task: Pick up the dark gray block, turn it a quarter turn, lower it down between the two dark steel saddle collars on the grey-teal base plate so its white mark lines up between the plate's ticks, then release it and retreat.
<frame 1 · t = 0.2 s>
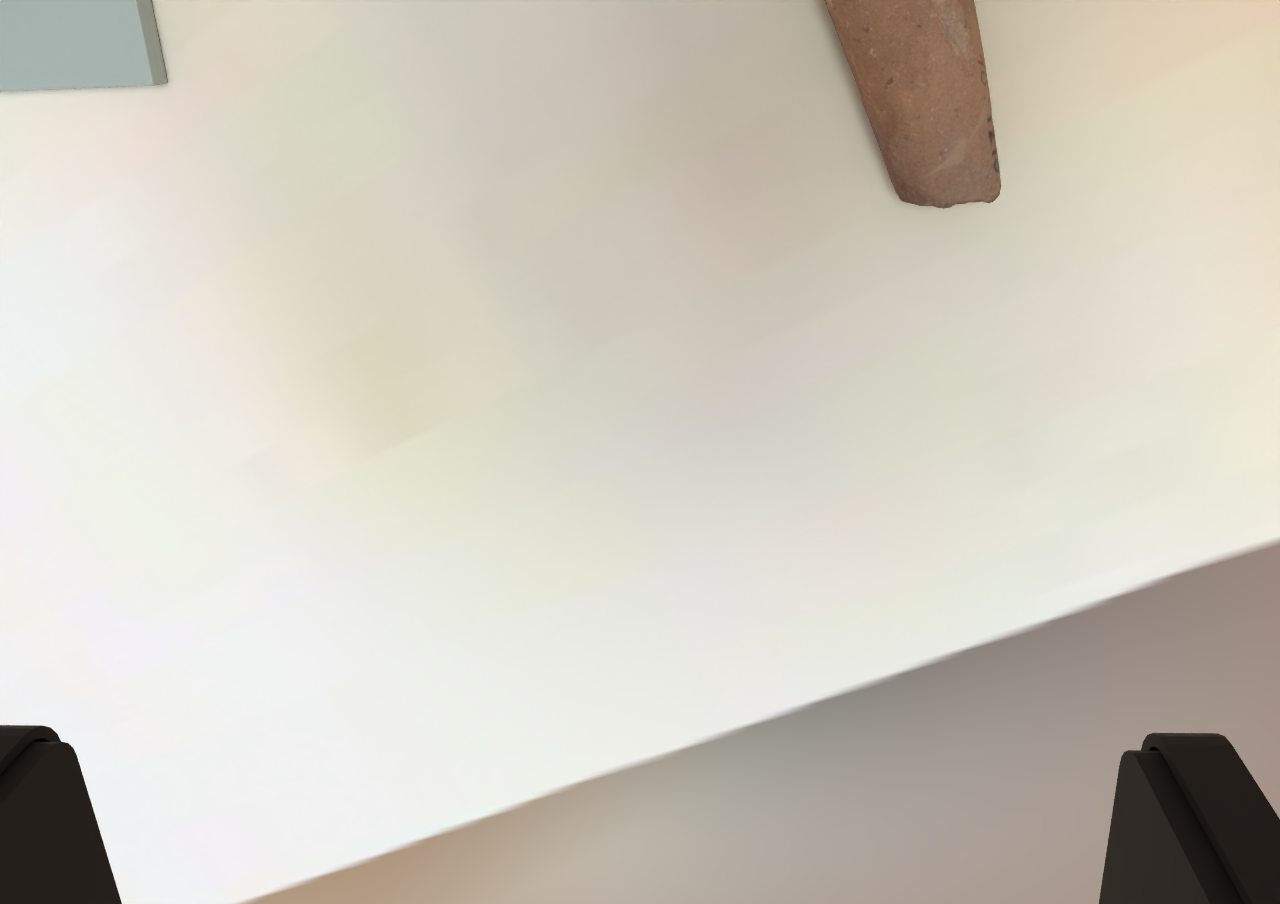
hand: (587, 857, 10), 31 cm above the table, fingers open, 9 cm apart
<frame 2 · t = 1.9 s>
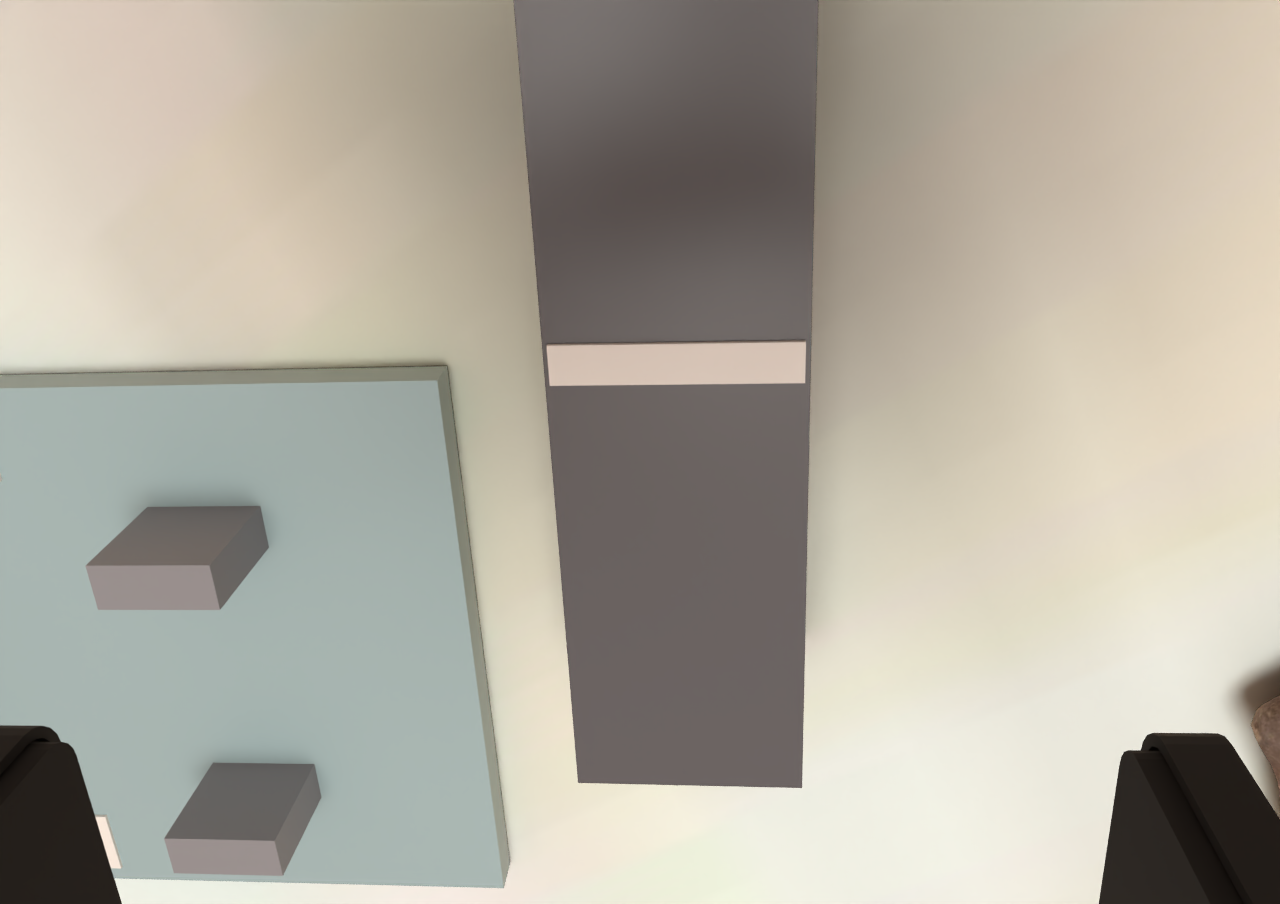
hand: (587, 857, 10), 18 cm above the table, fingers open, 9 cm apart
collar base: (67, 639, 32), on the table
dark gray block: (689, 276, 26), on the table
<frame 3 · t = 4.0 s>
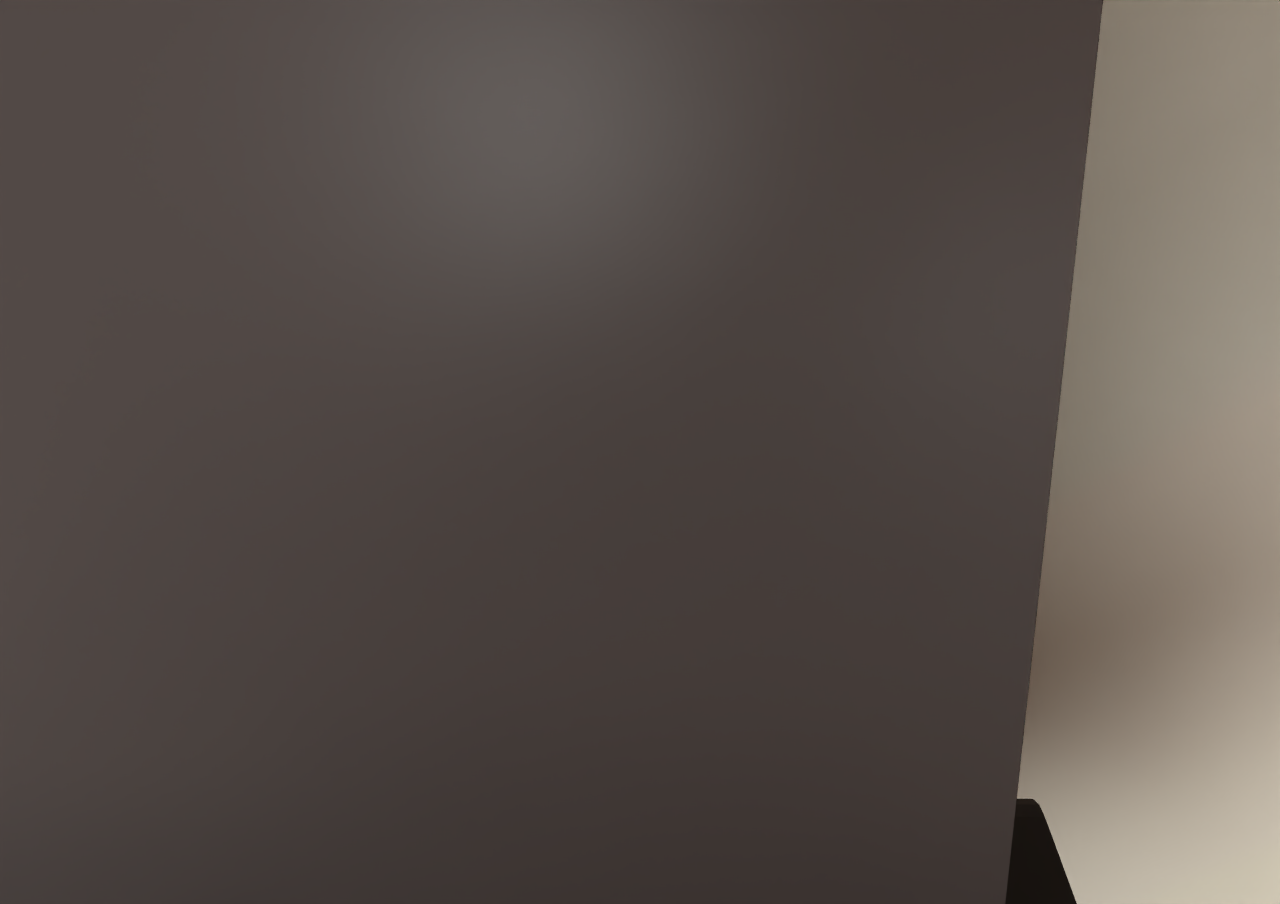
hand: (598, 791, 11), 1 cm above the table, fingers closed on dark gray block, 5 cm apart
dark gray block: (609, 715, 12), on the table, touching gripper
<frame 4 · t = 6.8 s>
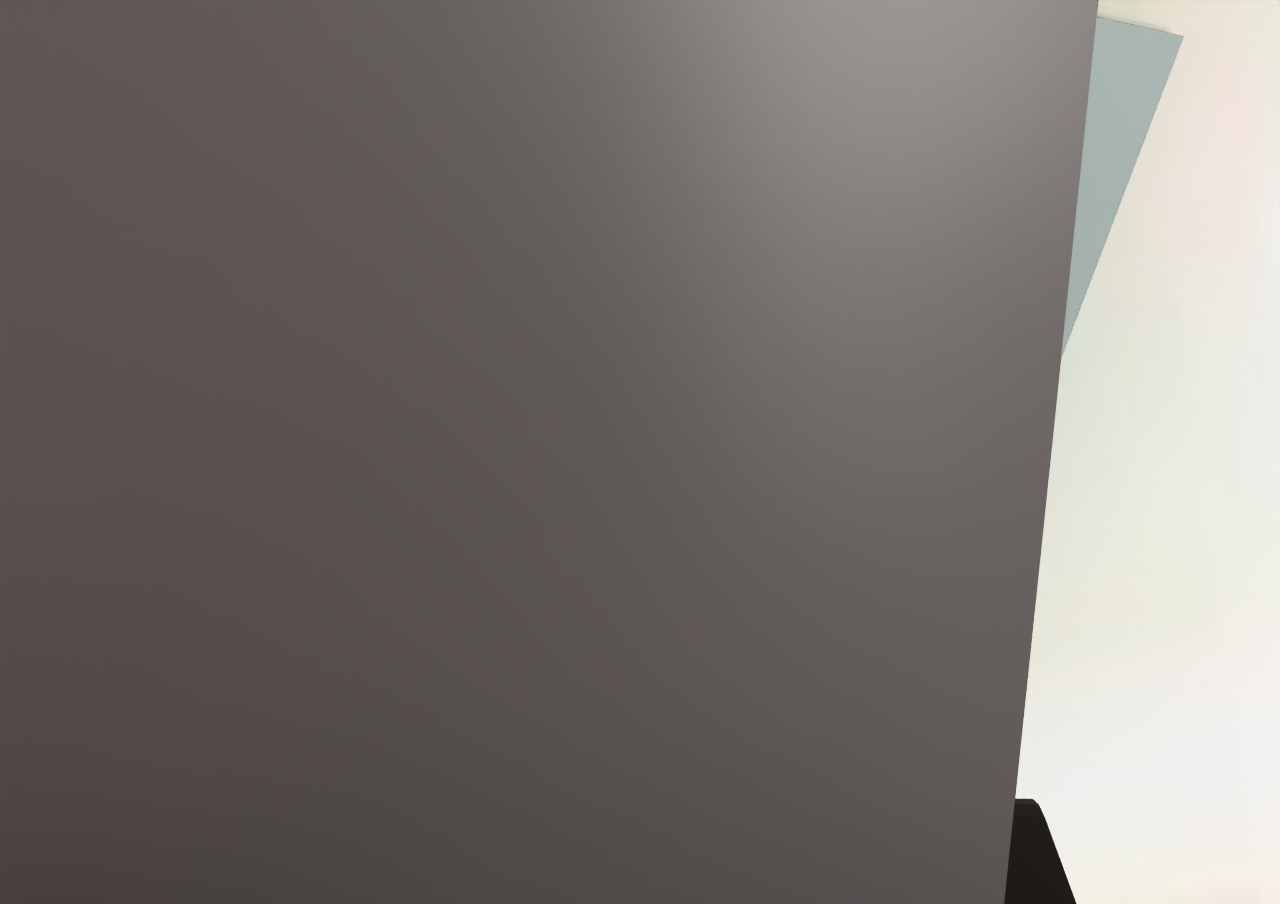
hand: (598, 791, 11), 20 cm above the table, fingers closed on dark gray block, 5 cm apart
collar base: (718, 424, 31), on the table
dark gray block: (608, 718, 12), point 19 cm above the table, touching gripper
when the fingers open (3 cm above the table, at t = 10.0 s): dark gray block drops 1 cm, resting on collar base.
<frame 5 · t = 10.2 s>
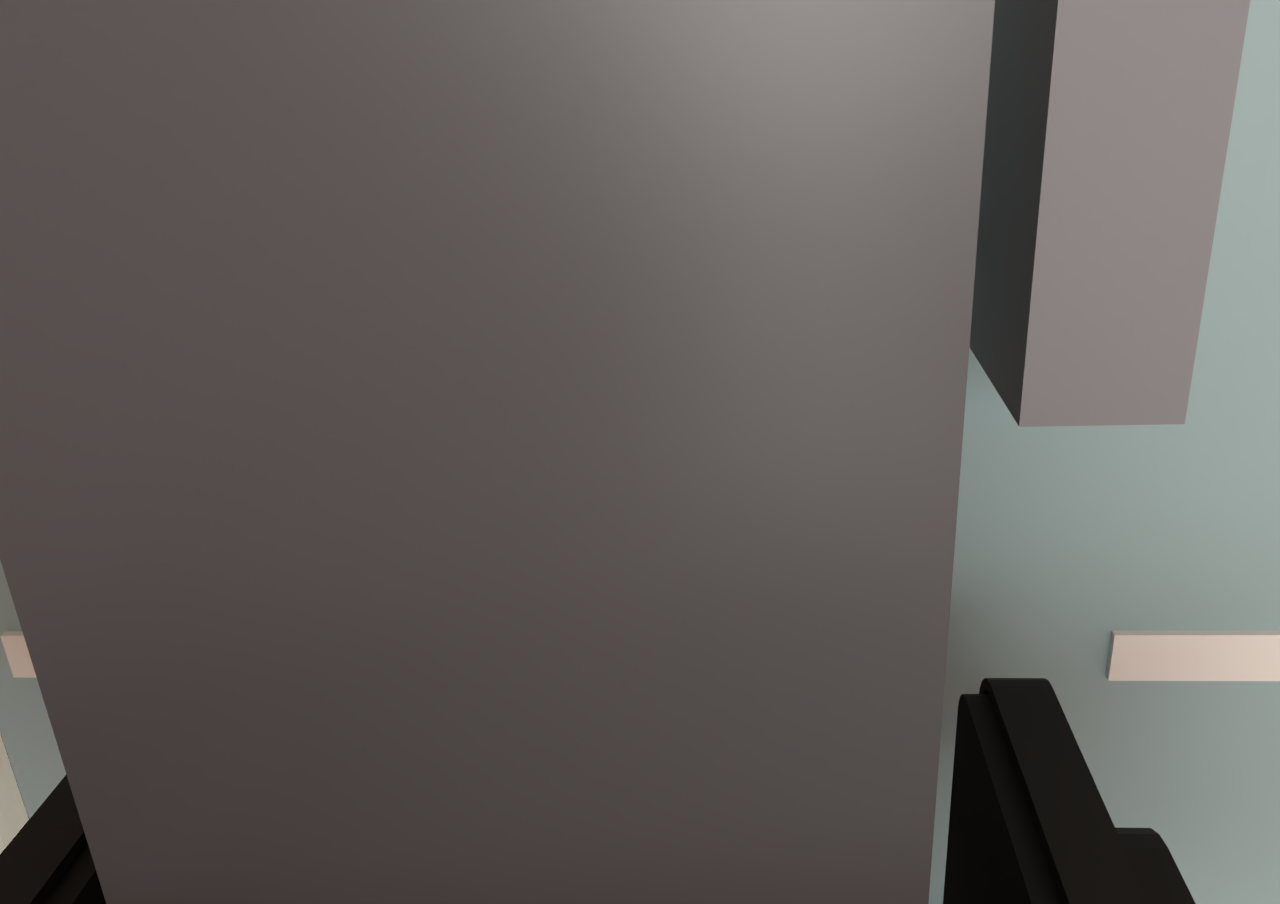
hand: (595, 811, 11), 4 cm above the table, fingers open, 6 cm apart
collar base: (628, 607, 14), on the table
dark gray block: (616, 648, 13), point 1 cm above the table, touching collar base
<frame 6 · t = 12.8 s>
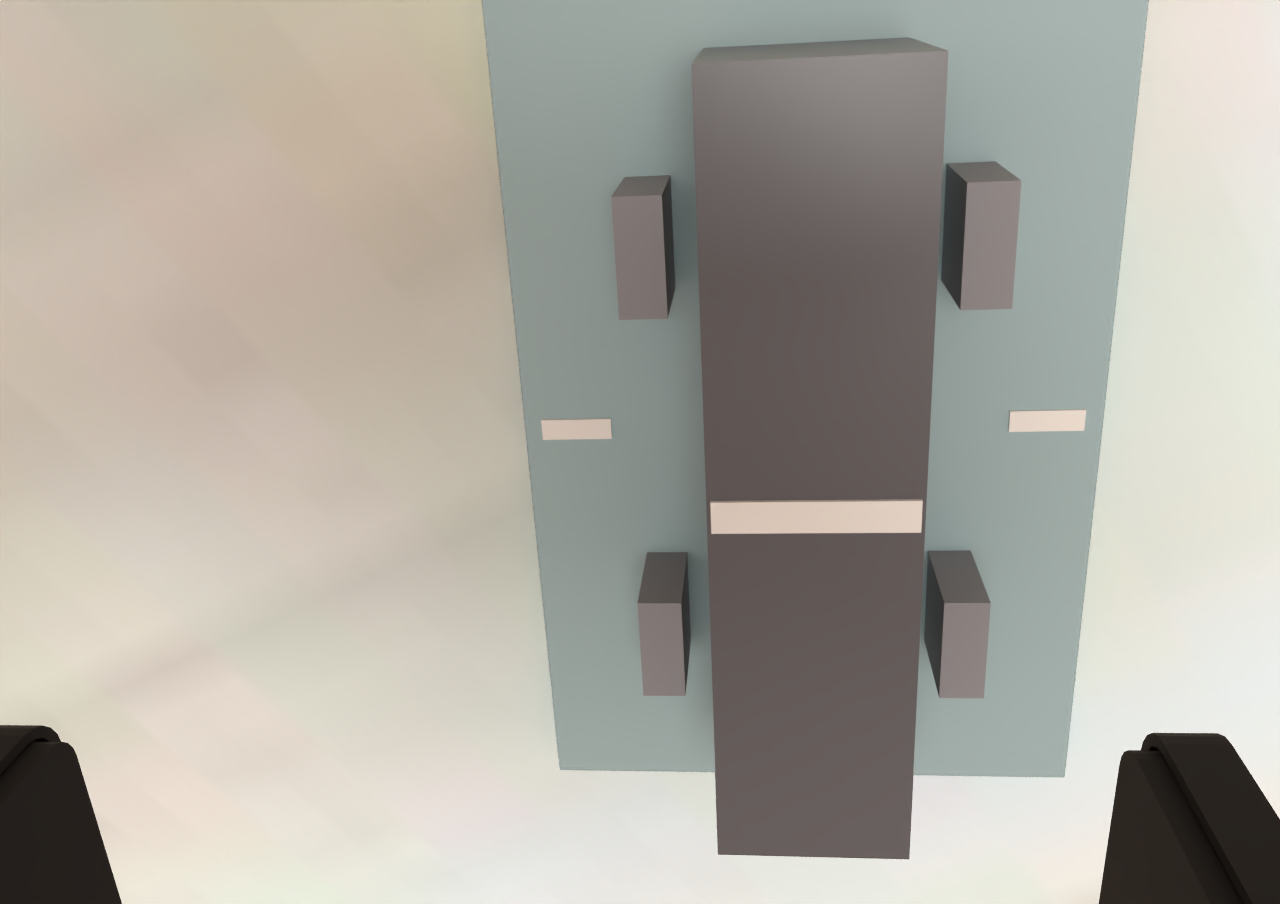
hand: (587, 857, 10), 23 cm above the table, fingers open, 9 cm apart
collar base: (804, 411, 32), on the table
dark gray block: (804, 422, 31), point 1 cm above the table, touching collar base
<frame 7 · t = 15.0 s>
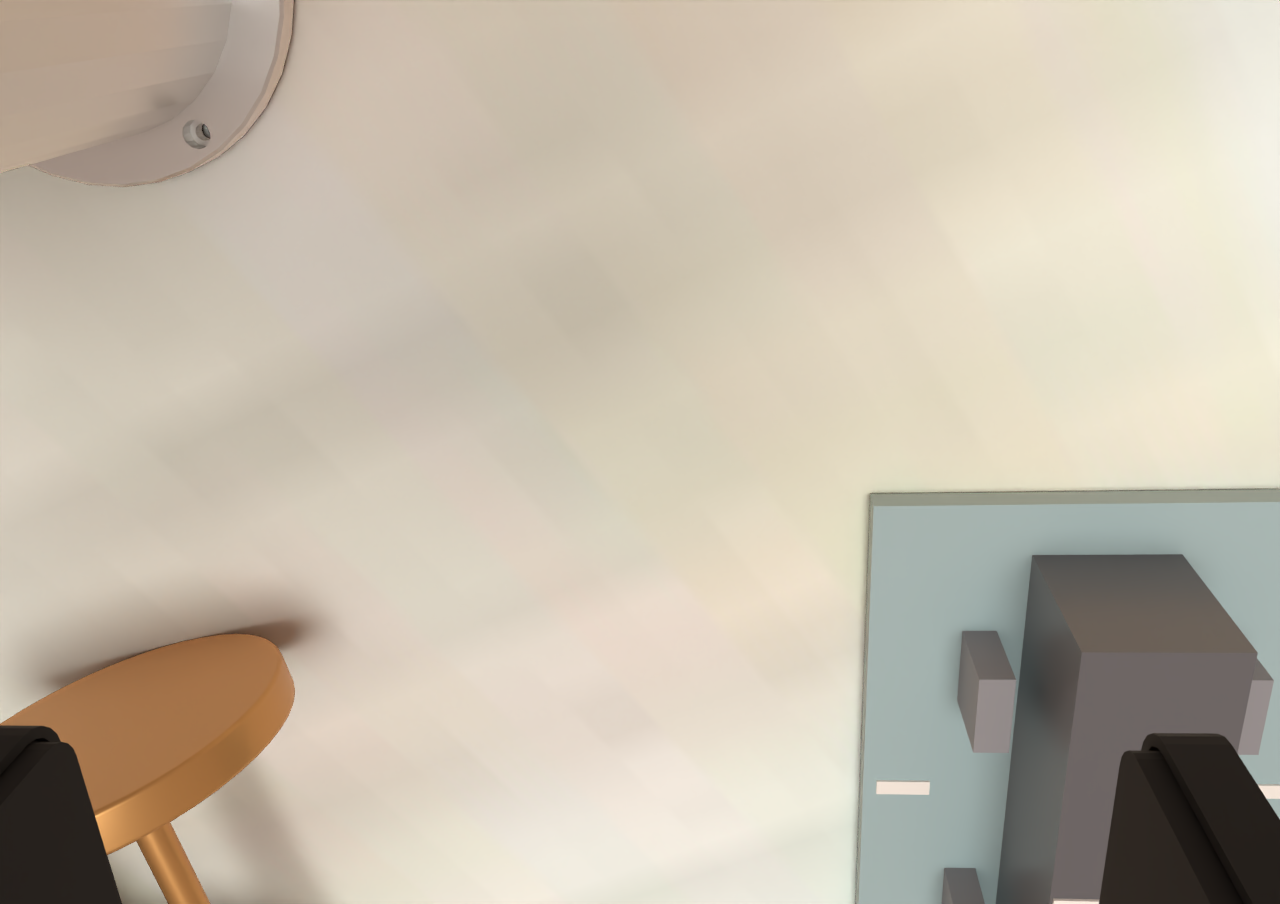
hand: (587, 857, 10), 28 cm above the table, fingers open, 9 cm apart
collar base: (1069, 771, 43), on the table
light fixture: (157, 891, 50), on the table
dark gray block: (1075, 787, 42), point 1 cm above the table, touching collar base
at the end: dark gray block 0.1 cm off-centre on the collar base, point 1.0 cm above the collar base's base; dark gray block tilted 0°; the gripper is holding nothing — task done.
